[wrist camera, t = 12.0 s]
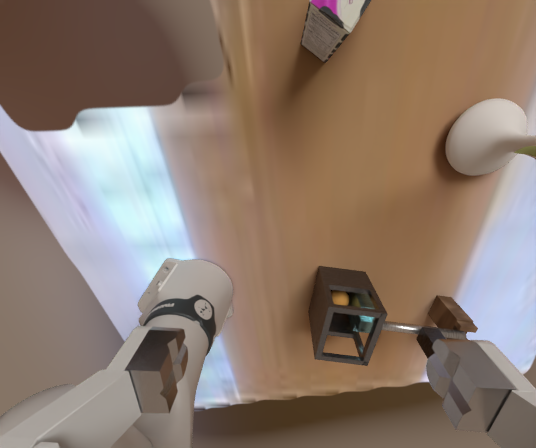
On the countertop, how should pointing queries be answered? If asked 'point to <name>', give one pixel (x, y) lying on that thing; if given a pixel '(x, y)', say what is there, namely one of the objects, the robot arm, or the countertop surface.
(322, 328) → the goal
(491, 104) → the flower in vase
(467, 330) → the rod cradle
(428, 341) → the rod
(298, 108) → the countertop surface
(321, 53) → the candy bar box
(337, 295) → the ball
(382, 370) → the countertop surface
